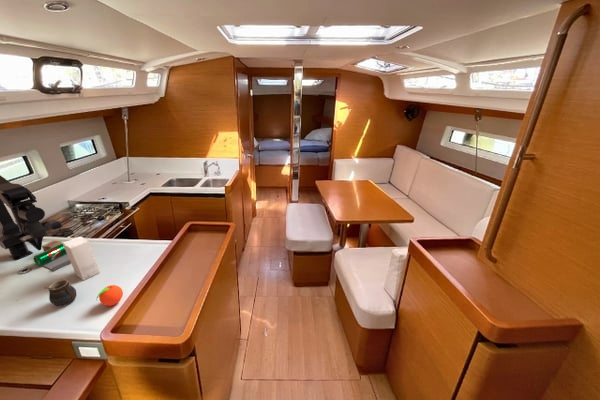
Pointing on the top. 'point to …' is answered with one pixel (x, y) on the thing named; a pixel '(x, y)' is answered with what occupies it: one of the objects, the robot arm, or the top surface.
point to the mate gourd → (61, 293)
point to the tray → (58, 262)
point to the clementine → (110, 295)
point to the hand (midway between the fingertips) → (39, 250)
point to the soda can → (49, 255)
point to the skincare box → (81, 257)
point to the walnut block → (51, 245)
